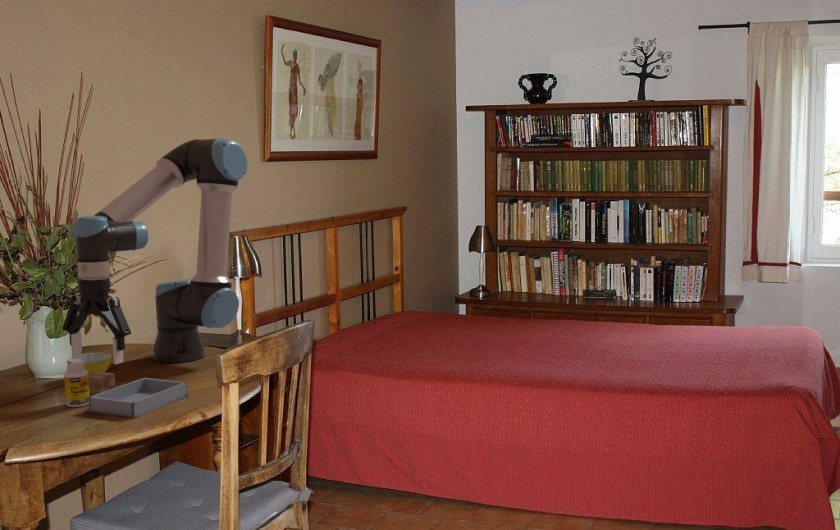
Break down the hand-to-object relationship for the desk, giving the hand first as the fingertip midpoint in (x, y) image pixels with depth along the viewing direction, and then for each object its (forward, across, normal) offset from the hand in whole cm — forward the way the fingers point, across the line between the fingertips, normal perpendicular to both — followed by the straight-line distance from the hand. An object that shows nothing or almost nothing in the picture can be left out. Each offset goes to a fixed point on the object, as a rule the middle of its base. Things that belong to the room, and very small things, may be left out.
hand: (97, 360), depth 233 cm
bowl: (+9, -13, +11) cm, 19 cm away
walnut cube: (+9, 0, +1) cm, 9 cm away
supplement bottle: (+9, +2, -9) cm, 13 cm away
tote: (+9, +16, -3) cm, 19 cm away
